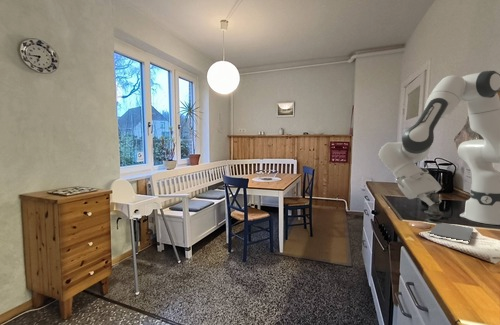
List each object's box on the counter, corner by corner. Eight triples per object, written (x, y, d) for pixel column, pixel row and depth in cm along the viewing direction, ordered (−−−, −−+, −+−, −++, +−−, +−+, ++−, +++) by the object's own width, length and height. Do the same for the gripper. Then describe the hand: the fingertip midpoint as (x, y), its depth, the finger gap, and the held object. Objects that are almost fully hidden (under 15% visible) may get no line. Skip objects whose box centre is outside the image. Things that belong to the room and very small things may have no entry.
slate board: (437, 225, 112) (437, 222, 112) (472, 231, 103) (473, 228, 103) (429, 236, 99) (429, 232, 99) (468, 244, 91) (468, 240, 90)
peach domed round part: (411, 222, 118) (411, 220, 117) (431, 226, 112) (431, 224, 112) (406, 226, 112) (406, 224, 112) (427, 230, 106) (427, 228, 106)
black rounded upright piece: (446, 224, 89) (448, 192, 88) (428, 223, 90) (429, 192, 89) (437, 219, 95) (438, 189, 94) (420, 218, 96) (421, 188, 95)
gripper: (400, 172, 92) (428, 203, 84) (428, 168, 102) (455, 195, 94) (388, 182, 96) (414, 212, 88) (416, 177, 106) (441, 204, 98)
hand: (435, 203), depth 91 cm, fingers closed on black rounded upright piece, 4 cm apart
